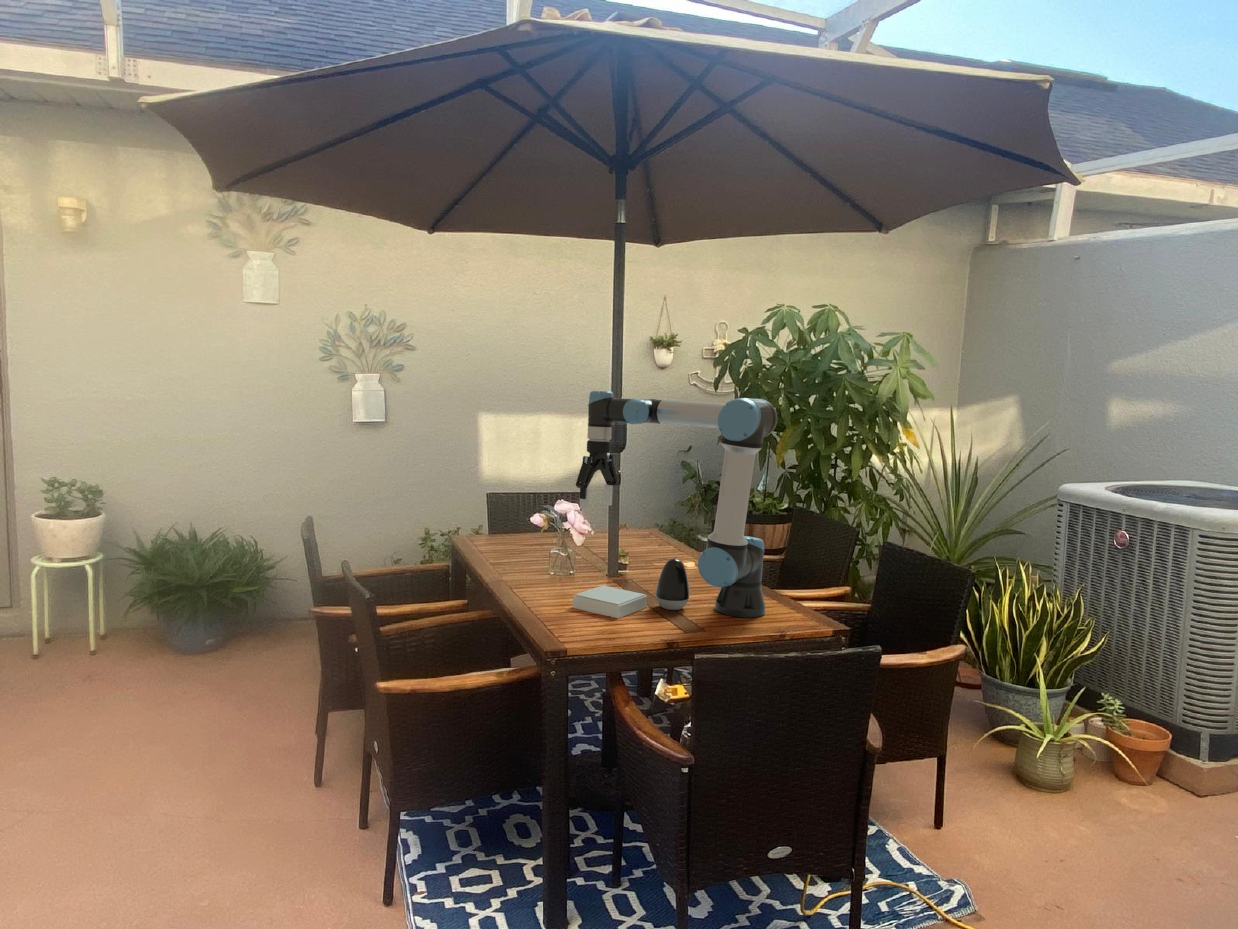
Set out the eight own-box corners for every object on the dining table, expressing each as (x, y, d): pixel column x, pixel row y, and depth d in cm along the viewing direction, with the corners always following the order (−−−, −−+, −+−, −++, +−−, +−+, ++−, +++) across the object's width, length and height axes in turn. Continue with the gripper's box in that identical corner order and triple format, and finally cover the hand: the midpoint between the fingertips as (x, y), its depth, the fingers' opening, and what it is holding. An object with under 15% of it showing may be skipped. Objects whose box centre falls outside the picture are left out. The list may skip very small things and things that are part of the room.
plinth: (646, 607, 251) (647, 594, 250) (618, 618, 237) (618, 604, 237) (602, 597, 259) (602, 584, 259) (572, 607, 246) (573, 594, 245)
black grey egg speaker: (661, 613, 246) (664, 562, 244) (650, 603, 255) (653, 555, 254) (693, 612, 248) (697, 562, 247) (681, 603, 258) (685, 555, 257)
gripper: (610, 438, 274) (607, 502, 276) (566, 440, 253) (563, 509, 255) (629, 439, 270) (626, 504, 272) (586, 442, 249) (583, 512, 251)
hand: (596, 507), depth 263 cm, fingers open, 13 cm apart
